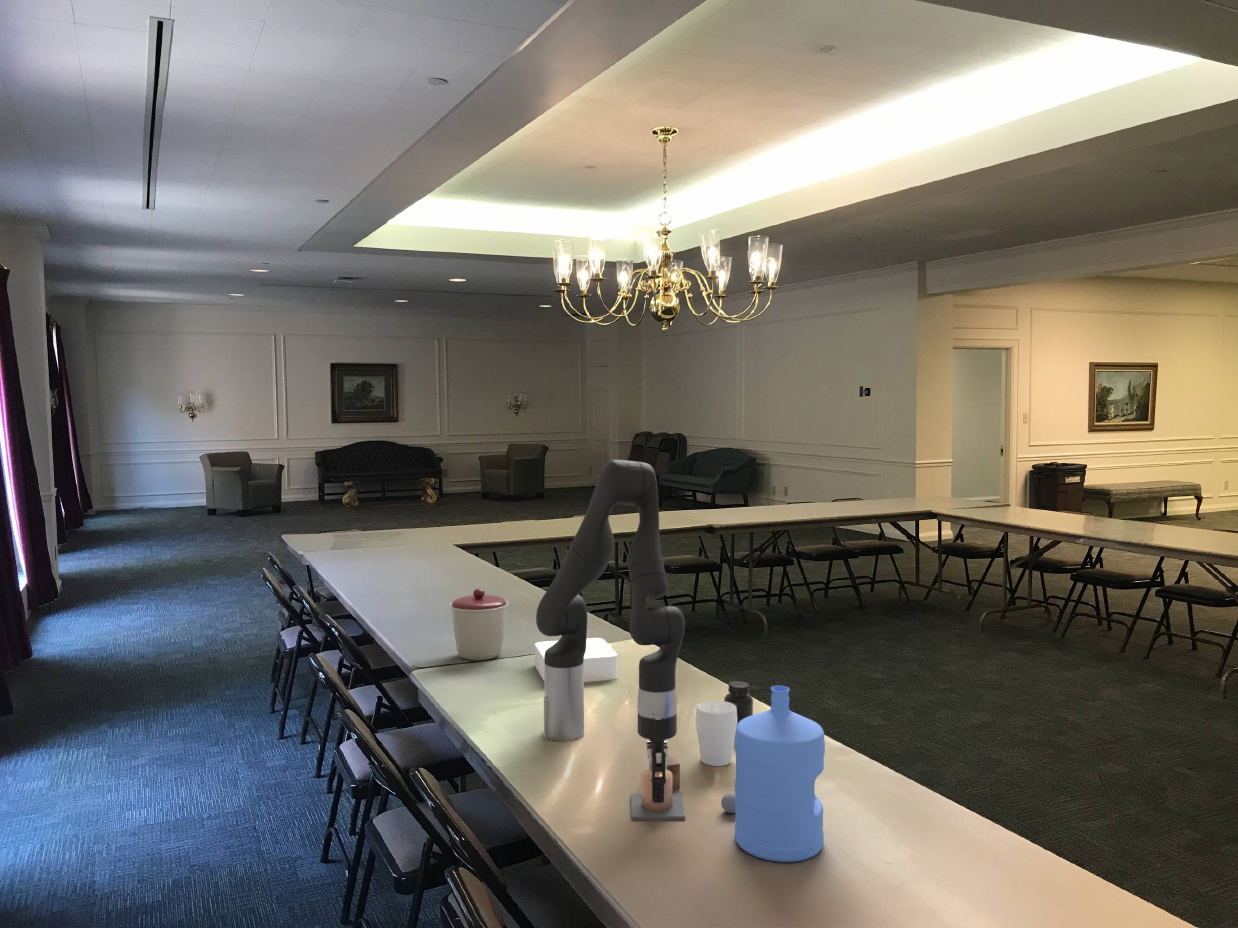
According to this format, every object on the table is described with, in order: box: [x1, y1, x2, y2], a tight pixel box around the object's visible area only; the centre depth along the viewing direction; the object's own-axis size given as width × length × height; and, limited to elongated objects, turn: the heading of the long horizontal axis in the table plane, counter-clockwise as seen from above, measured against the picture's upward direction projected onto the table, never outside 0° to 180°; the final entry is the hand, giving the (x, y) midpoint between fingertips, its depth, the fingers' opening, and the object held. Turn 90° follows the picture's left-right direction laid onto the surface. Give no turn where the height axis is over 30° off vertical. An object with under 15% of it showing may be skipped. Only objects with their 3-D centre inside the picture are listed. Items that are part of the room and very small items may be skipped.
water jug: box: [734, 685, 826, 863], centre depth 161 cm, size 16×16×28 cm
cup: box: [695, 699, 737, 767], centre depth 199 cm, size 9×9×12 cm
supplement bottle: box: [723, 680, 754, 736], centre depth 215 cm, size 7×7×12 cm
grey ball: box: [720, 792, 736, 814], centre depth 174 cm, size 4×4×4 cm
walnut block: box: [667, 754, 681, 789], centre depth 187 cm, size 5×5×5 cm
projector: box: [534, 637, 618, 683], centre depth 265 cm, size 21×22×7 cm
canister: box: [448, 588, 509, 661], centre depth 280 cm, size 18×18×21 cm
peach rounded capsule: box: [640, 768, 674, 812], centre depth 176 cm, size 6×6×6 cm
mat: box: [630, 792, 686, 821], centre depth 176 cm, size 10×10×1 cm
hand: (657, 792), depth 176 cm, fingers open, 8 cm apart
